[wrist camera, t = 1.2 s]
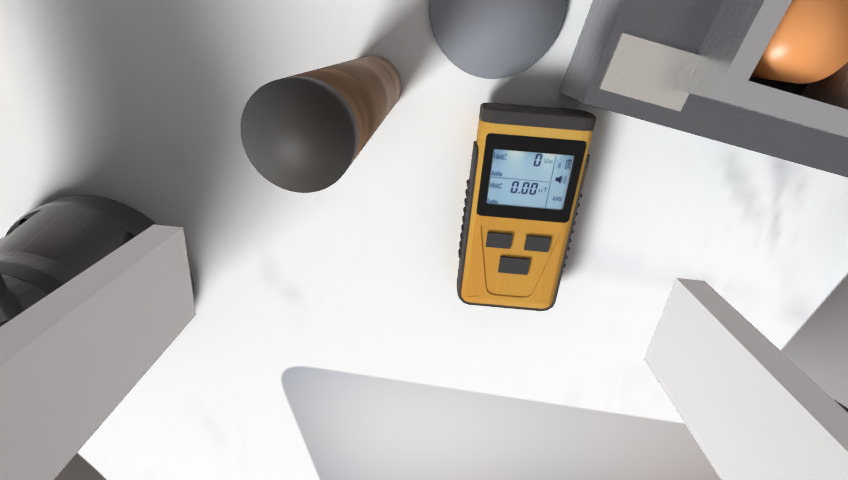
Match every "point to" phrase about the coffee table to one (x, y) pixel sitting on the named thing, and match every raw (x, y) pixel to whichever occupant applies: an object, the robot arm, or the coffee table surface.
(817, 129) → the box
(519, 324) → the coffee table surface
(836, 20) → the brown egg
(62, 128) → the coffee table surface
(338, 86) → the brown cylinder with cap
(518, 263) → the electronic device
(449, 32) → the coaster
